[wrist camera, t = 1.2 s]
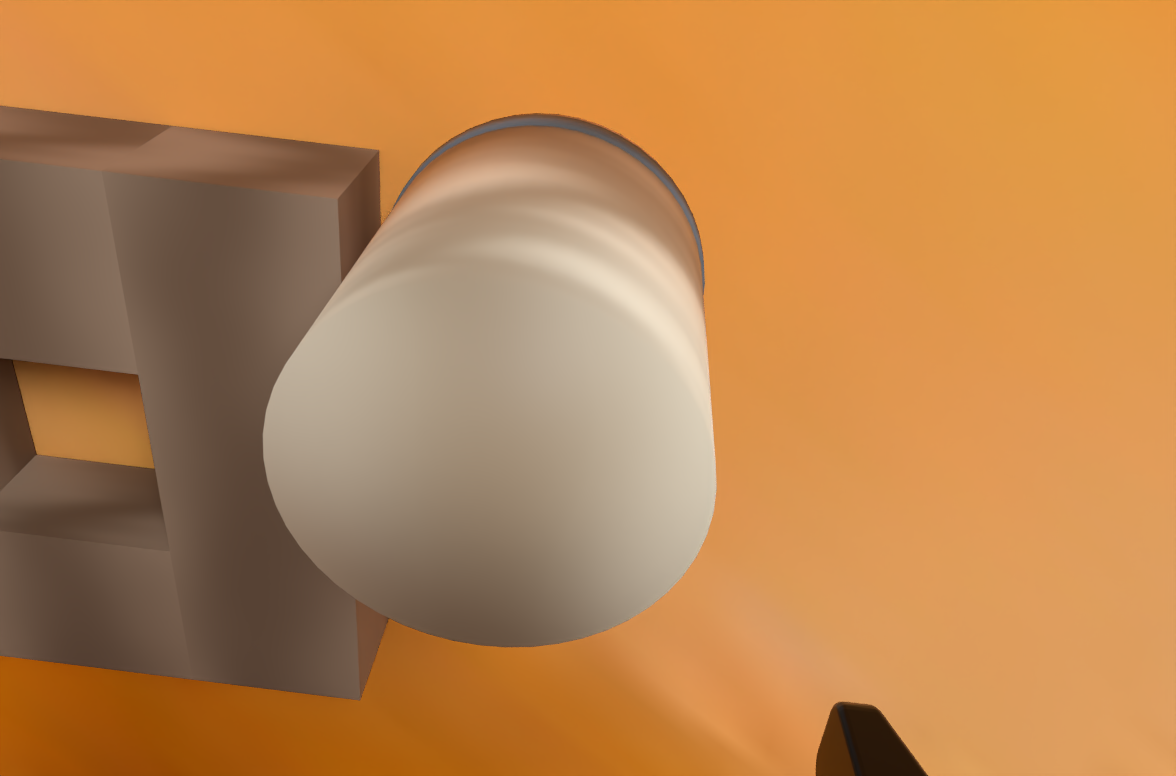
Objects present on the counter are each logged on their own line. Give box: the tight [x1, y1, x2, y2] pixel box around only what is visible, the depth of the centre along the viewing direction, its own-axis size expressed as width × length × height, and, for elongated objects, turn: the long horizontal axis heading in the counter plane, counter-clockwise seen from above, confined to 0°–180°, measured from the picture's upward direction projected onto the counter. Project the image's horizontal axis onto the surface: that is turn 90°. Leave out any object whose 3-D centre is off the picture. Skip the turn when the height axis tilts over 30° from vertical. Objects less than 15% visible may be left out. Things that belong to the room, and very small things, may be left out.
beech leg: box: [263, 113, 716, 647], centre depth 17 cm, size 6×6×10 cm
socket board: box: [0, 106, 389, 700], centre depth 23 cm, size 14×14×3 cm
